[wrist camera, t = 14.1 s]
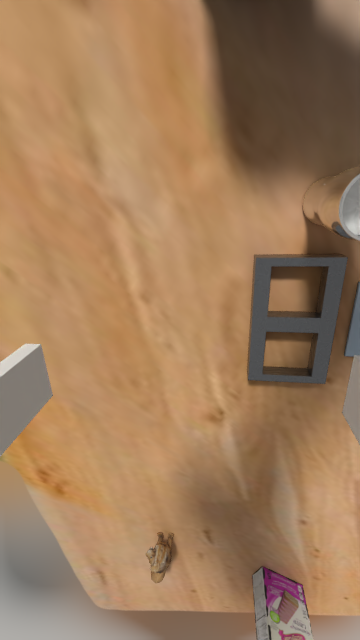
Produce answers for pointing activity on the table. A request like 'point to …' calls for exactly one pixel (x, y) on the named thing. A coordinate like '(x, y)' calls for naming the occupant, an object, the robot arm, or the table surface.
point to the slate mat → (354, 328)
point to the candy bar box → (279, 607)
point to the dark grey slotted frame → (295, 317)
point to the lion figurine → (160, 557)
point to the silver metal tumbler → (336, 203)
